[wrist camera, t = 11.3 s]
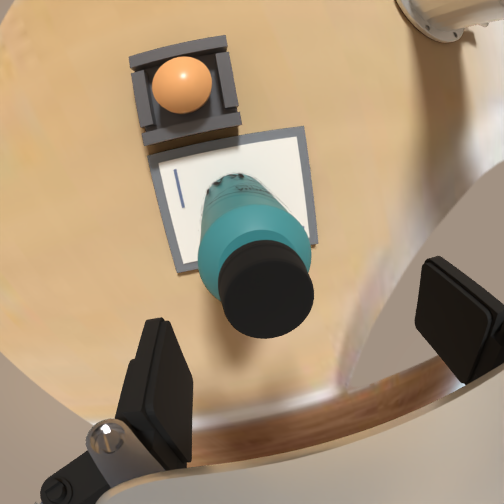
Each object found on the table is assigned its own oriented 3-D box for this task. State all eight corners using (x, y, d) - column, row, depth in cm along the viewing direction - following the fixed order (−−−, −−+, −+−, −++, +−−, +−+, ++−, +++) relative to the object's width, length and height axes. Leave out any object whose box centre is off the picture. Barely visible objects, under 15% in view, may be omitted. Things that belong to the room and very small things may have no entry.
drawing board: (301, 126, 29) (304, 126, 28) (315, 240, 35) (319, 244, 33) (148, 155, 29) (146, 156, 28) (177, 269, 34) (176, 274, 33)
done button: (206, 58, 23) (206, 51, 21) (215, 107, 25) (216, 105, 23) (153, 70, 23) (148, 64, 21) (162, 119, 25) (157, 118, 22)
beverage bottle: (264, 232, 32) (333, 359, 14) (200, 231, 31) (194, 367, 13) (268, 170, 30) (362, 230, 11) (202, 168, 29) (188, 226, 10)
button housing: (223, 45, 25) (225, 35, 22) (238, 125, 29) (242, 124, 25) (136, 64, 25) (128, 56, 21) (151, 144, 28) (144, 146, 25)
